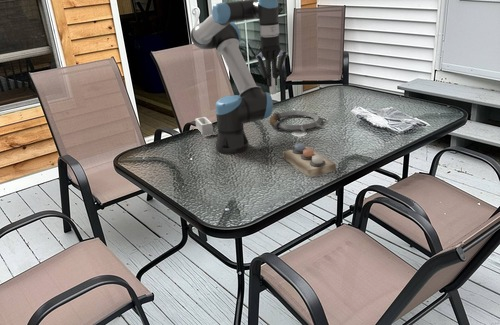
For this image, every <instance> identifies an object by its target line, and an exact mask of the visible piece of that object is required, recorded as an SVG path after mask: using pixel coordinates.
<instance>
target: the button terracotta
mask: <svg viewBox="0 0 500 325" xmlns="http://www.w3.org/2000/svg"><path fill="white" fill-rule="evenodd" d="M313 149H314V148H312V149H304V150H303V156H304V157H307V158H309V157H312V156H314V150H315V149H314V150H313Z"/></svg>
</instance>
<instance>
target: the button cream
mask: <svg viewBox="0 0 500 325" xmlns="http://www.w3.org/2000/svg"><path fill="white" fill-rule="evenodd" d="M322 155H323V154H322ZM322 155H314V156H312V163H314V164H321V163H323V156H324V155H323V156H322Z"/></svg>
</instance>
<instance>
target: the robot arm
mask: <svg viewBox="0 0 500 325" xmlns="http://www.w3.org/2000/svg"><path fill="white" fill-rule="evenodd" d="M248 20H259V35H260V51H259V53H258V54H255V59H256V61H257V63H258V66H259V69H260V72H261V76H262V77H263V78H264V79H267V80H266V81H267V82H266V83H267V86H268V88H269V92H267V91H265V92H264V91H263V89H262V87H261V86H259V85H257V84H256V82H255V80H254V77H253V75H252V74H251V71H250V69H249V67H248V64H247V62H246V60H245V59H244V56H243V54H242V52H241V50H240V47H239V46H240V43H241V39H242V38H241V34H240V33H241V31H240V29H239V27H238V25H237V23H235V22H240V21H242V22H243V21H248ZM279 21H280V18H279V2H278V0H237V1H228V2H224V1H223V2H219V3H215V4H213V6H212V10H211V14H210V15H209V16H208V17H207V18H206V19H205V20H203V22H201V23H197V24H196V25H195V26H193V28H192V29H191V32H190V40H191V42H192V44H193V45H194V46H195V47H197V48H199V49H201V50H213V49H214V50H216V52H217V54H218V55H221V56H222V58H223V60H224V62H225V64H226V66H227V68H228V71H229V73H230V76H231V77H232V79H233V81H234V84H235V86H236V88H237V90H238V93H239V95H238V94H237V95H236V94H233V95H226V96H223V97H221V98H220V99H218V100H217V101H216V102H215V115H216V116H215V118H216V123H217V124H216V125H217V126H216V127H217V134H218V135H216V136H217V138H216V141H215V149H216V151H217V152H218V153H221V154H227V155H230V154H239V153H242V152H245V151H247V150H248V149H249V146H250V145H249V144H250V143H249V139H248V137H247V135H246V133H245V130H244V129H245V128H244V124H248V123H252V122H256V121H260V120H262V121H263V120H265V119H268V118H270V117H271V116H272V115H273V114H272V113H273V110H274V109H273V108H274V103H273V98H272V95H276V94H277V92H276V86H278V78H279V77H280V76H282V72H283V67H284V60H285V57H286V54H287V52H286V51H284V50H282V49H281V46H280V23H279ZM263 58H264V60H263ZM264 62H265V63H264Z"/></svg>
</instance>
